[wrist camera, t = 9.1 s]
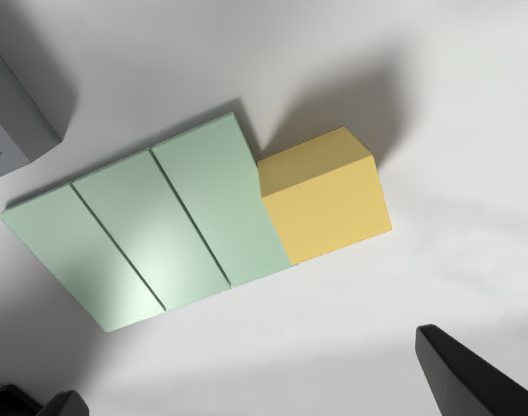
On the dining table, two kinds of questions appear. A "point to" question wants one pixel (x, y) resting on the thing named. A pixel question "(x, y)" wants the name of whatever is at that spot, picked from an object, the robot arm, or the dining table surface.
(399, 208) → the dining table surface
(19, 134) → the tub
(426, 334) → the robot arm
